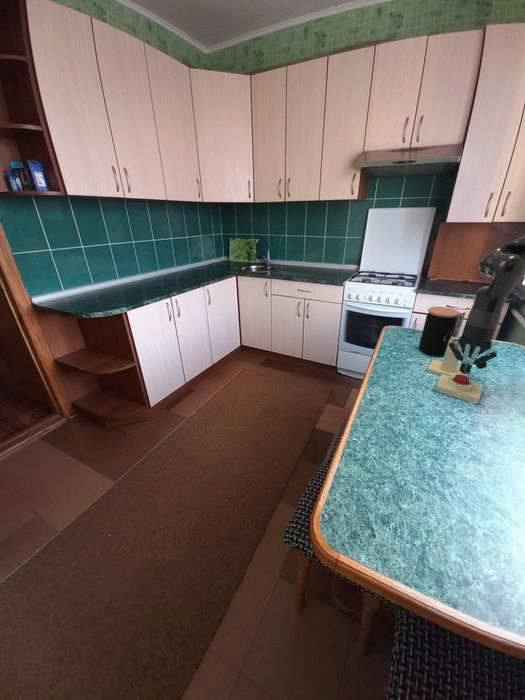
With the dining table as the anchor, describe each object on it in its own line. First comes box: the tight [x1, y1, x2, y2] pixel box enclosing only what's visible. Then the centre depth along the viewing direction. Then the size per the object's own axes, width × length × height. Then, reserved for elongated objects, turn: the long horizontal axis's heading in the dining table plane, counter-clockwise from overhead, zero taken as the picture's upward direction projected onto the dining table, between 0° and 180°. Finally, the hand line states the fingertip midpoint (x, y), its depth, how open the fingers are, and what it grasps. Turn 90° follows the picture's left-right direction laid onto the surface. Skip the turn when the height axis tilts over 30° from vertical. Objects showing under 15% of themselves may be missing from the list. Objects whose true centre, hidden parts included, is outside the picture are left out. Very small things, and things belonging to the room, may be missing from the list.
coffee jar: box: [418, 306, 459, 357], centre depth 118 cm, size 11×11×18 cm
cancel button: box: [454, 374, 471, 385], centre depth 95 cm, size 4×4×2 cm
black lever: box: [454, 339, 488, 370], centre depth 101 cm, size 13×3×3 cm, turn 52°
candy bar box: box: [436, 305, 466, 338], centre depth 123 cm, size 11×5×16 cm, turn 45°
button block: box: [434, 374, 484, 405], centre depth 96 cm, size 12×9×4 cm
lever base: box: [426, 337, 469, 377], centre depth 105 cm, size 12×9×13 cm
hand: (463, 372), depth 93 cm, fingers closed
